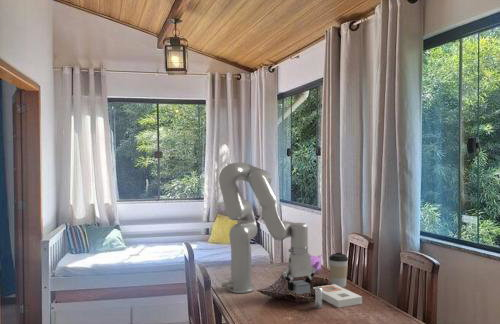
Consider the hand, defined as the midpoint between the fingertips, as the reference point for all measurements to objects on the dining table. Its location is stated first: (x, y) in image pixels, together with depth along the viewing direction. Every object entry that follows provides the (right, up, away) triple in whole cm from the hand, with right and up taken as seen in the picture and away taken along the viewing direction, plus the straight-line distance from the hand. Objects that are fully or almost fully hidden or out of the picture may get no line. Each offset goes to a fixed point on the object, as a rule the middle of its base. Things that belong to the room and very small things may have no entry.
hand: (299, 289), depth 197 cm
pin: (+6, -3, -15) cm, 16 cm away
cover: (0, -3, 0) cm, 3 cm away
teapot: (+10, -3, +38) cm, 40 cm away
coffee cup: (+21, -3, +17) cm, 27 cm away
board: (+16, -3, -4) cm, 17 cm away
